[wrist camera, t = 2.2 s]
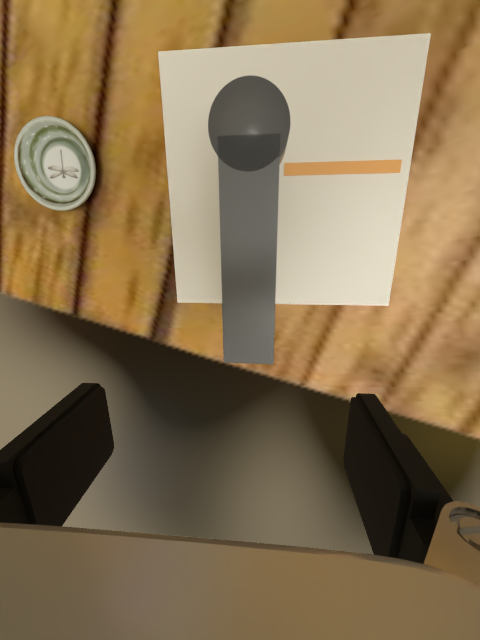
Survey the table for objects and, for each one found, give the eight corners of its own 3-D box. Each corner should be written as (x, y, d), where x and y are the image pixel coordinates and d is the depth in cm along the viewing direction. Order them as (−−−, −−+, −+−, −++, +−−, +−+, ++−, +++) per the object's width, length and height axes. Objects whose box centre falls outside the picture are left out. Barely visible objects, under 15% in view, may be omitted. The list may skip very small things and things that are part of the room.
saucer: (91, 114, 32) (78, 105, 30) (115, 204, 35) (104, 202, 33) (17, 132, 33) (-1, 125, 31) (46, 218, 36) (31, 217, 34)
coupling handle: (221, 116, 23) (206, 77, 17) (285, 113, 22) (292, 72, 17) (226, 336, 29) (216, 362, 23) (278, 337, 28) (280, 364, 22)
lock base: (163, 60, 30) (121, -9, 21) (422, 43, 27) (492, -43, 19) (180, 299, 38) (155, 320, 29) (383, 302, 35) (420, 325, 27)
